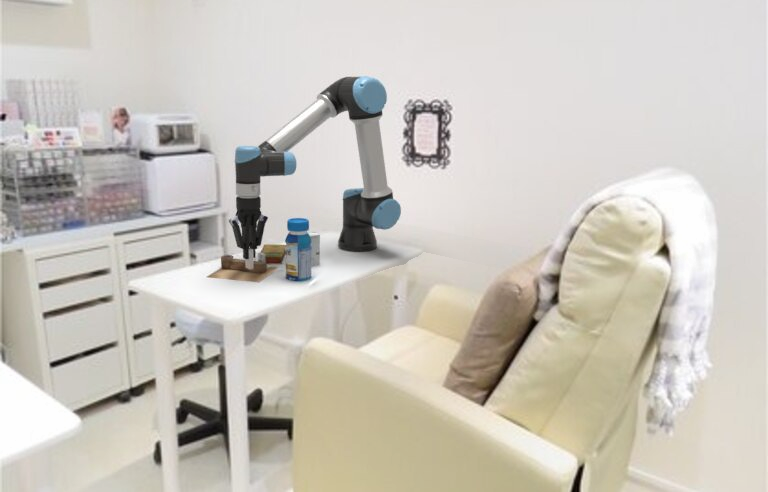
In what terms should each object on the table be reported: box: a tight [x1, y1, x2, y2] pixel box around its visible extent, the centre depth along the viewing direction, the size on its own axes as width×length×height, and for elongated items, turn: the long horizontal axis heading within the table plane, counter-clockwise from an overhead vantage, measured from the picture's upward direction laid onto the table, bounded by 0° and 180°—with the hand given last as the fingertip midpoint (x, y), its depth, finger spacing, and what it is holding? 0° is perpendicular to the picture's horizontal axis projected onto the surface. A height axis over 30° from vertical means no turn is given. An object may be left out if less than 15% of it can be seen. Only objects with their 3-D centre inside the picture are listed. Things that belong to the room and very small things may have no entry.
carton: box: [259, 243, 286, 265], centre depth 209 cm, size 8×16×4 cm, turn 4°
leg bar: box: [220, 253, 268, 273], centre depth 194 cm, size 16×4×4 cm, turn 71°
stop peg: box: [257, 252, 266, 262], centre depth 196 cm, size 2×2×5 cm
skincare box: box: [308, 231, 321, 268], centre depth 201 cm, size 6×4×12 cm
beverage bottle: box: [284, 217, 313, 282], centre depth 186 cm, size 8×8×20 cm
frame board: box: [206, 265, 279, 283], centre depth 192 cm, size 18×16×1 cm
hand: (249, 268), depth 190 cm, fingers closed
